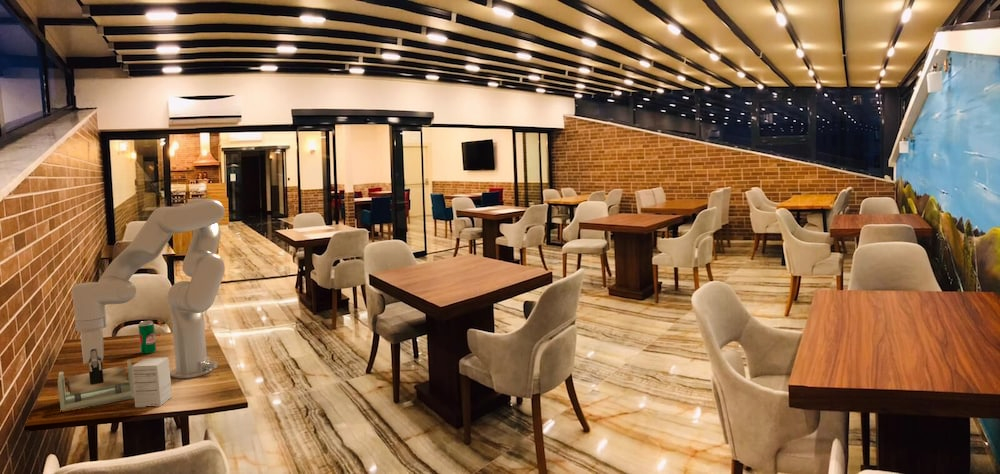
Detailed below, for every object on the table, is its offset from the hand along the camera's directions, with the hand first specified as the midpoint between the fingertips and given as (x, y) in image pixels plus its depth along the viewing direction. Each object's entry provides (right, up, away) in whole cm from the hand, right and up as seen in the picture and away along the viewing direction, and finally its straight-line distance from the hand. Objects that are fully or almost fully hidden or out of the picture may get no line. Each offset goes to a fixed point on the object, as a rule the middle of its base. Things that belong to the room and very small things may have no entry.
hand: (96, 378), depth 170 cm
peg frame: (0, -6, +1) cm, 6 cm away
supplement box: (+19, -7, -3) cm, 20 cm away
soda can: (-13, -2, +46) cm, 47 cm away
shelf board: (0, -2, 0) cm, 2 cm away
